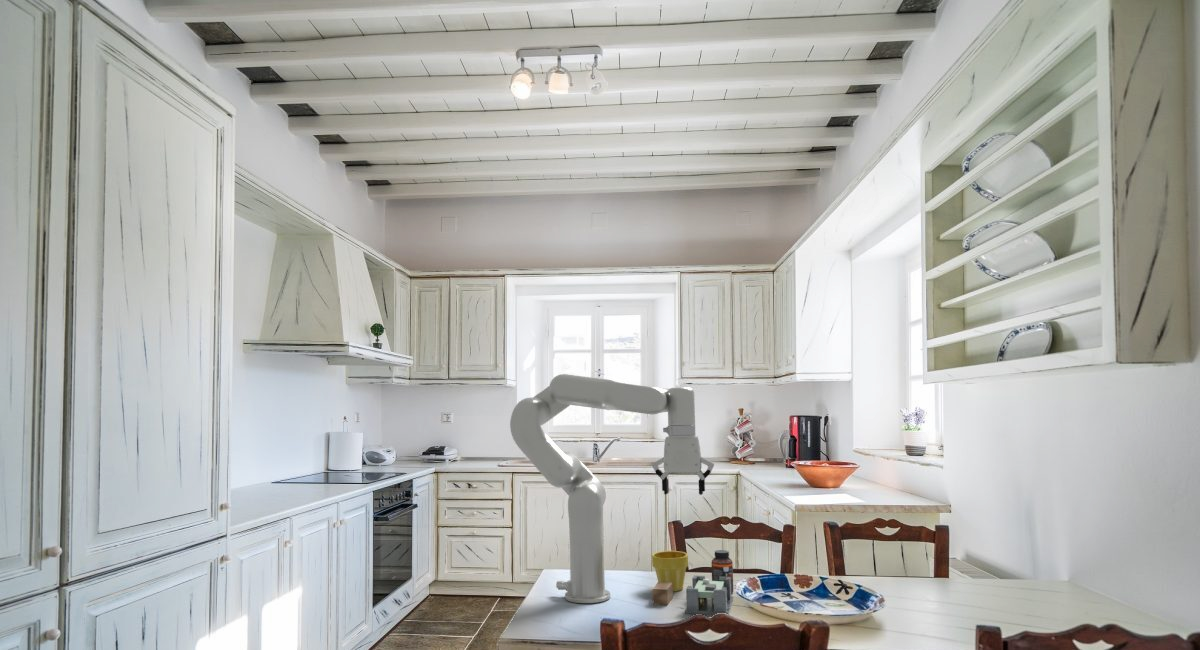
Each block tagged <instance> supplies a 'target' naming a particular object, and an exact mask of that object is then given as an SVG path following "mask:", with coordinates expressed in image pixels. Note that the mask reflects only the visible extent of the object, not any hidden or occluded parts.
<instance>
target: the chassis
mask: <svg viewBox="0 0 1200 650" xmlns="http://www.w3.org/2000/svg"><path fill="white" fill-rule="evenodd" d="M703 579H706V576H705V575H693V577H692V579H691V580H692V581H691V582H692V585H687V586H686V588H685V593H686V597H685V598H686V607H685V609H684V615H685V614H687V615H703V614H704V616H705V615H706V616H707V615H708V616H715V615H714V614H717V613H726V614H728V615H729V614H730V611H731V608H732V606H733V601H734V596H733V595H732V593H731V577H719V581H724V587H723V588H722V590H719V589H714V598H699V593H698V589H697V588H695V586H696V584H697V582H698V580H703ZM691 613H693V614H691Z"/></svg>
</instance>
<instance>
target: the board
mask: <svg viewBox="0 0 1200 650" xmlns="http://www.w3.org/2000/svg"><path fill="white" fill-rule="evenodd" d="M723 587H724V581H712V580H710V579H709V578H705V579H703V580H698V582H697V584H696V586H695V588H697V589H698V593H699V598H714V589H719V590H722V588H723Z"/></svg>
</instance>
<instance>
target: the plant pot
mask: <svg viewBox="0 0 1200 650" xmlns="http://www.w3.org/2000/svg"><path fill="white" fill-rule="evenodd" d="M651 559H652V567H653V569H654V570H655V575H656V578H657V583H658V582H672V588H673V592H679V591H682V590H683V589H684V581H685V577H686V569H687V568H688V567H689V554H688V553H686V552H684V551H681V550H680V551H677V550H665V551H663V550H662V551H658V552H654V553H652V555H651Z"/></svg>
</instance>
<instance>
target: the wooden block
mask: <svg viewBox="0 0 1200 650" xmlns="http://www.w3.org/2000/svg"><path fill="white" fill-rule="evenodd" d="M673 592H674V591H673V588H672V582H658V581H657V583H656V584H655V585H654V586H653V588H652V605H660V606H661V605H662V606H668V605H669V604H670V603H671V601H672V599H673V598H674V595H673V594H674V593H673Z"/></svg>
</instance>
